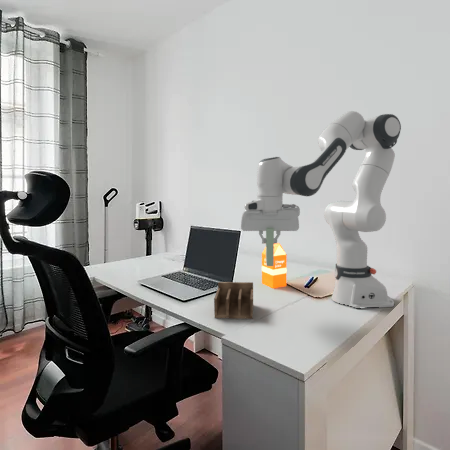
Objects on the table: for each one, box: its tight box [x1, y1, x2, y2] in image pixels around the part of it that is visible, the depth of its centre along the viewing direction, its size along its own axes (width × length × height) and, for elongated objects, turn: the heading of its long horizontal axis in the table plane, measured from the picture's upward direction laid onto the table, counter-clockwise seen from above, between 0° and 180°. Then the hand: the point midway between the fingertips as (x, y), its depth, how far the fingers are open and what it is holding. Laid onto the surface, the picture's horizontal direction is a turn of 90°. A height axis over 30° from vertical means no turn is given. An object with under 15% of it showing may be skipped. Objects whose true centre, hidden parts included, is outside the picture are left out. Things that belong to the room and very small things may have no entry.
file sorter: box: [213, 281, 254, 320], centre depth 121 cm, size 13×13×9 cm
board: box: [265, 228, 275, 266], centre depth 117 cm, size 2×9×13 cm, turn 175°
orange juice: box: [261, 242, 288, 289], centre depth 151 cm, size 8×9×20 cm
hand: (269, 243), depth 117 cm, fingers closed on board, 2 cm apart
